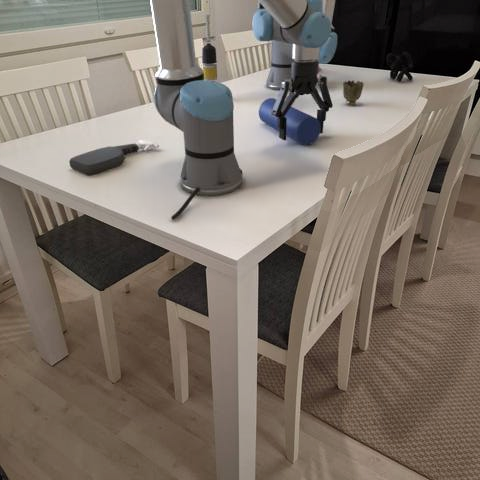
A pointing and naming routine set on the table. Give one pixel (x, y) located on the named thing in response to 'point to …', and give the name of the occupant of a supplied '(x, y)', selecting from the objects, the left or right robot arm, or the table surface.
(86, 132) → the table surface
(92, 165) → the spray bottle
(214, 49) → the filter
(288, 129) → the rod
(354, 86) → the cup
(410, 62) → the squiggle
